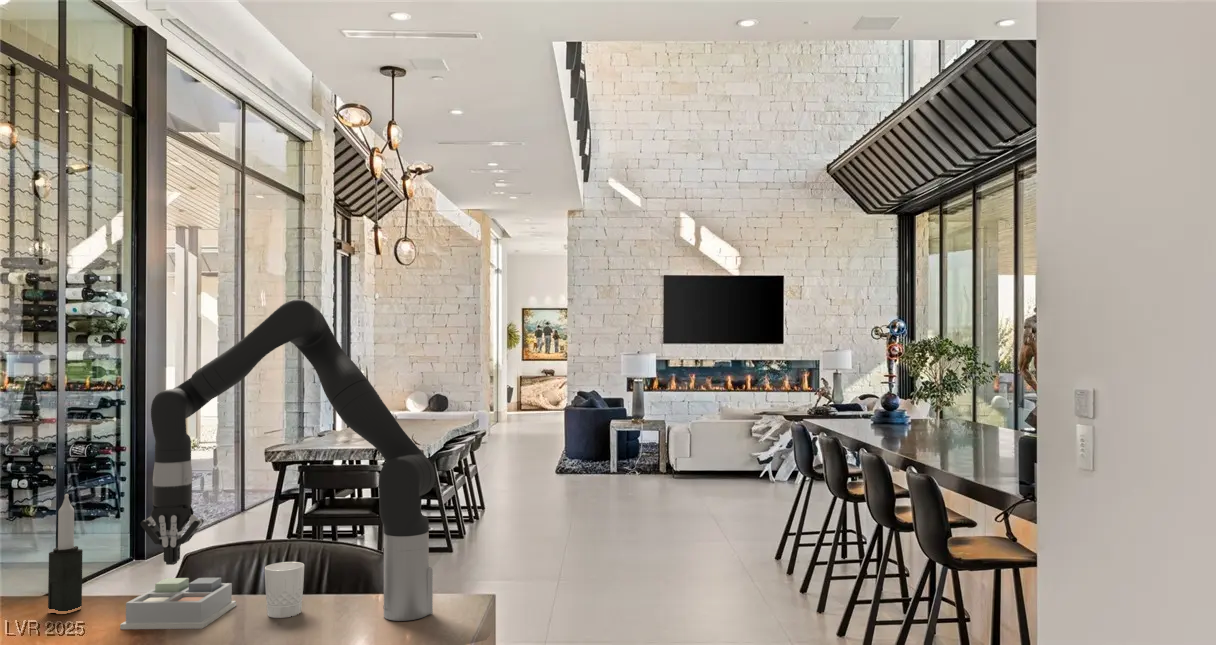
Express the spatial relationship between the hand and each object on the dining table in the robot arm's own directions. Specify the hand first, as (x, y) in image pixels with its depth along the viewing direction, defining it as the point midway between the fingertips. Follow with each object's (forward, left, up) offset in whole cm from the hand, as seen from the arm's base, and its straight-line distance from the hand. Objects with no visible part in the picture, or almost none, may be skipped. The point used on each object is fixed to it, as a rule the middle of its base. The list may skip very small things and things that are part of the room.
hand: (171, 563), depth 190 cm
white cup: (-19, +16, -11) cm, 27 cm away
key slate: (-6, +4, -7) cm, 10 cm away
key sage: (0, 0, -7) cm, 7 cm away
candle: (+18, -15, -10) cm, 26 cm away
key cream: (+4, +6, -9) cm, 11 cm away
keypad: (-1, +5, -10) cm, 11 cm away
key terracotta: (-2, +10, -9) cm, 14 cm away
